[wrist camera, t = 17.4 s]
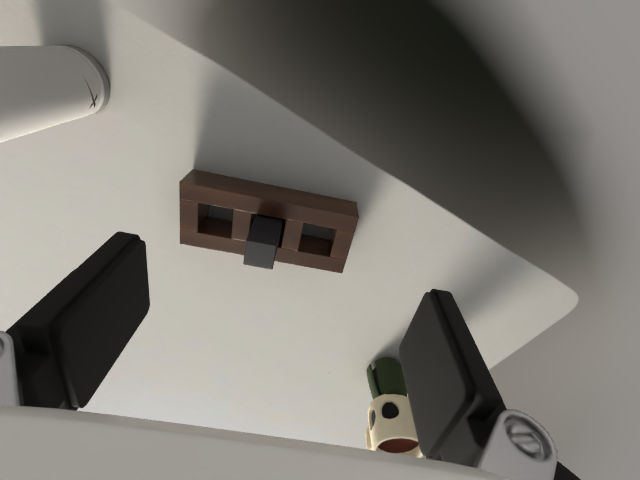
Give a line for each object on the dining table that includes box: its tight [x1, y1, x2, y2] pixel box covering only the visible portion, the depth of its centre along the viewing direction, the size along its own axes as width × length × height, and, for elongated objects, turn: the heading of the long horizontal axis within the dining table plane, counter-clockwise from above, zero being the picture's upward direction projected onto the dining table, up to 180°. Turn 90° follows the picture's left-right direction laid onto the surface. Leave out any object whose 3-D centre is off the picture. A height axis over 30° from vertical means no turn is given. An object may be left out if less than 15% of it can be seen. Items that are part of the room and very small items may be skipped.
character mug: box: [365, 359, 424, 458], centre depth 50 cm, size 11×7×13 cm, turn 137°
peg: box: [243, 214, 284, 269], centre depth 37 cm, size 3×3×9 cm
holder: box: [180, 170, 359, 273], centre depth 40 cm, size 8×19×4 cm, turn 79°
